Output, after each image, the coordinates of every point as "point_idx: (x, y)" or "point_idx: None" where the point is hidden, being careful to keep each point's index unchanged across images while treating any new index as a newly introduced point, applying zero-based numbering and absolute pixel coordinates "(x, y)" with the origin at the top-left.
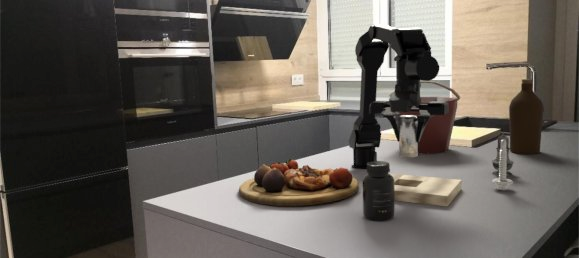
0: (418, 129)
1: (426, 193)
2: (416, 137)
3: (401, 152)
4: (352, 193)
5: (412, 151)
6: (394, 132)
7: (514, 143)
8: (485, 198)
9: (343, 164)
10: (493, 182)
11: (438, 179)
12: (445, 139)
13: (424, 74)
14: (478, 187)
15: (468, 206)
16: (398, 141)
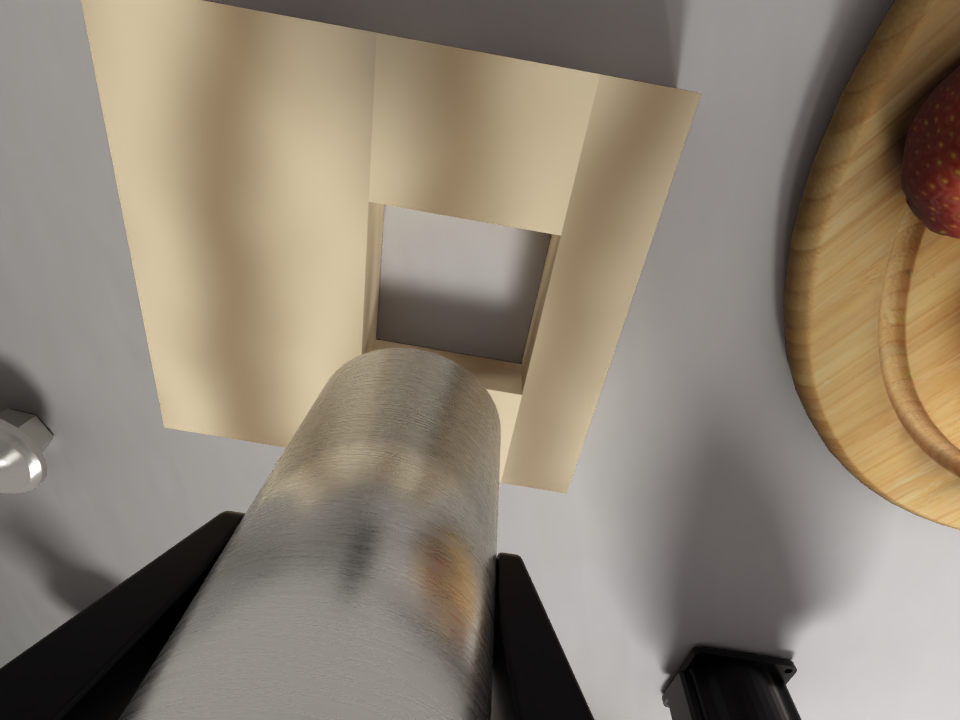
0: (46, 692)
1: (249, 20)
2: (206, 563)
3: (464, 399)
4: (855, 69)
5: (329, 397)
6: (576, 682)
7: None
8: (19, 253)
9: (830, 698)
10: (24, 436)
11: (284, 415)
12: None
13: None
14: (135, 441)
15: (23, 41)
16: (508, 554)
